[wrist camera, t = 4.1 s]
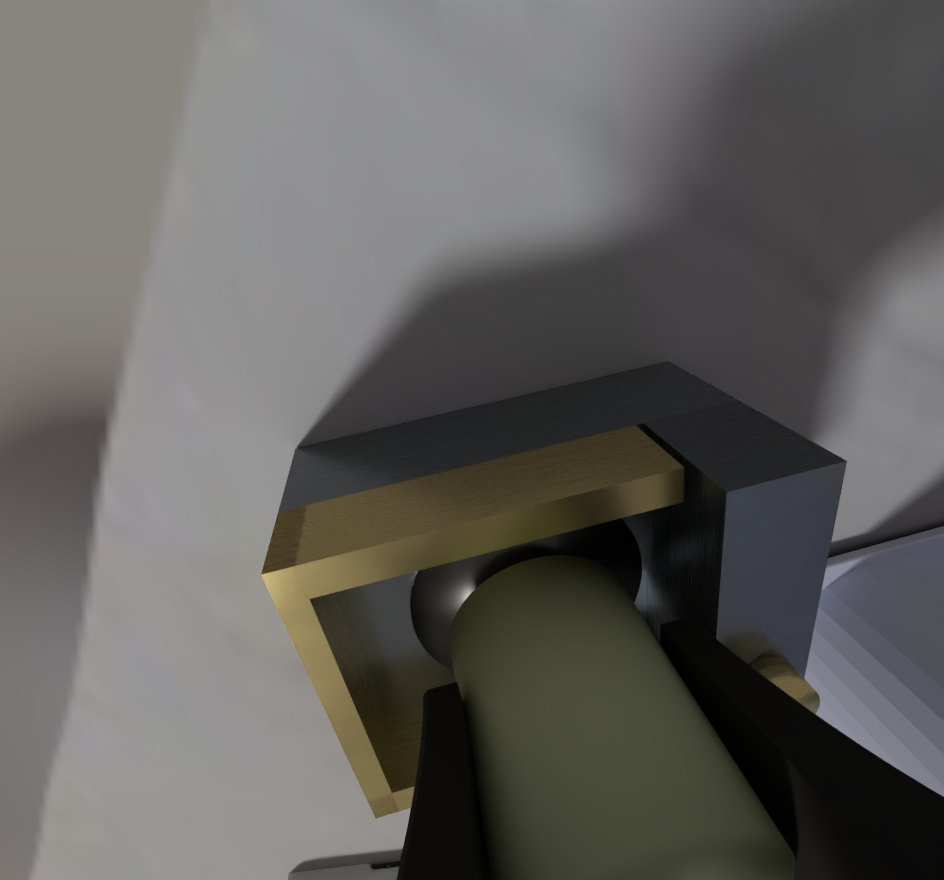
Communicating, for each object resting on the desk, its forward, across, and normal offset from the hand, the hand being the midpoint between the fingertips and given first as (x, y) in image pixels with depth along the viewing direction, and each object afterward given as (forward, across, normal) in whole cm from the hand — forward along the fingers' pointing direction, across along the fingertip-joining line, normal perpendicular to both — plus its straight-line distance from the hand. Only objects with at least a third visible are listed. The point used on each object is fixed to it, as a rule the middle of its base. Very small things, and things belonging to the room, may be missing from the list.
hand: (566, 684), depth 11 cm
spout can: (+2, 0, 0) cm, 2 cm away
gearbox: (+6, 0, 0) cm, 6 cm away
